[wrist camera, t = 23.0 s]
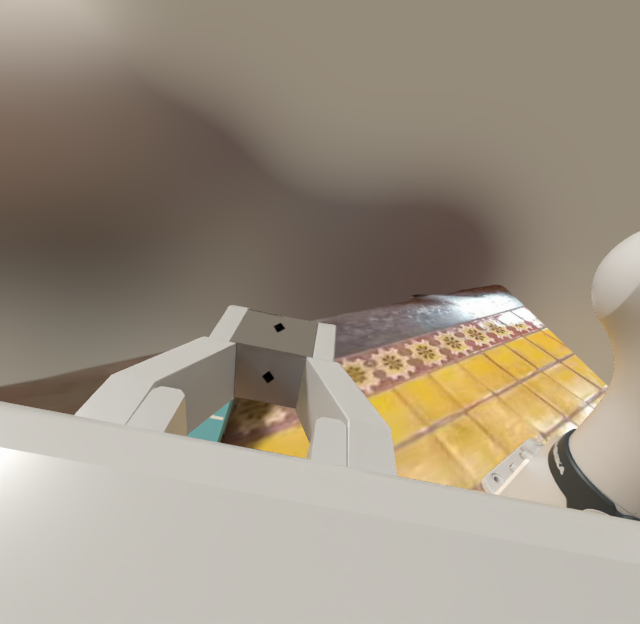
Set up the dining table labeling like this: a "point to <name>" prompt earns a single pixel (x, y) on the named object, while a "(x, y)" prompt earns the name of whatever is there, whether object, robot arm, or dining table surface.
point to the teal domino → (213, 425)
